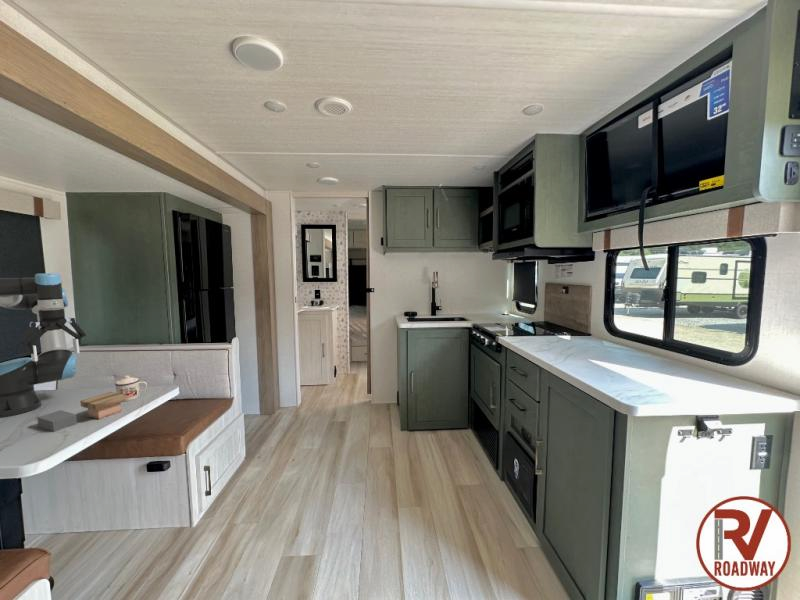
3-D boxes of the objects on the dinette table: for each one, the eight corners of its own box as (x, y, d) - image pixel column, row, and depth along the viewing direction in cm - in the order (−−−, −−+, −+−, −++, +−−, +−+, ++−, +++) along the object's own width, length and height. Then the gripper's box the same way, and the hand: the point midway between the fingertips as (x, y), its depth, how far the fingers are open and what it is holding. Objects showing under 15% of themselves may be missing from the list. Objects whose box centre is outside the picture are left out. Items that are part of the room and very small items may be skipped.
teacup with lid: (116, 403, 152) (114, 380, 151) (116, 398, 158) (114, 375, 157) (148, 397, 160) (146, 374, 159) (147, 392, 166) (145, 370, 165)
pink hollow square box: (88, 416, 138) (87, 405, 138) (110, 409, 146) (109, 398, 145) (99, 419, 135) (97, 408, 135) (121, 411, 143) (120, 401, 142)
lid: (80, 406, 137) (80, 400, 137) (111, 396, 147) (111, 391, 147) (95, 410, 133) (95, 404, 133) (126, 400, 143) (125, 394, 143)
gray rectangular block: (38, 426, 130) (37, 417, 129) (61, 419, 136) (60, 410, 136) (53, 431, 125) (52, 421, 125) (77, 423, 132) (76, 414, 131)
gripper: (13, 313, 124) (19, 365, 126) (92, 306, 147) (96, 350, 149) (3, 312, 126) (9, 363, 129) (83, 305, 150) (87, 349, 152)
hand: (56, 356), depth 139 cm, fingers open, 13 cm apart
